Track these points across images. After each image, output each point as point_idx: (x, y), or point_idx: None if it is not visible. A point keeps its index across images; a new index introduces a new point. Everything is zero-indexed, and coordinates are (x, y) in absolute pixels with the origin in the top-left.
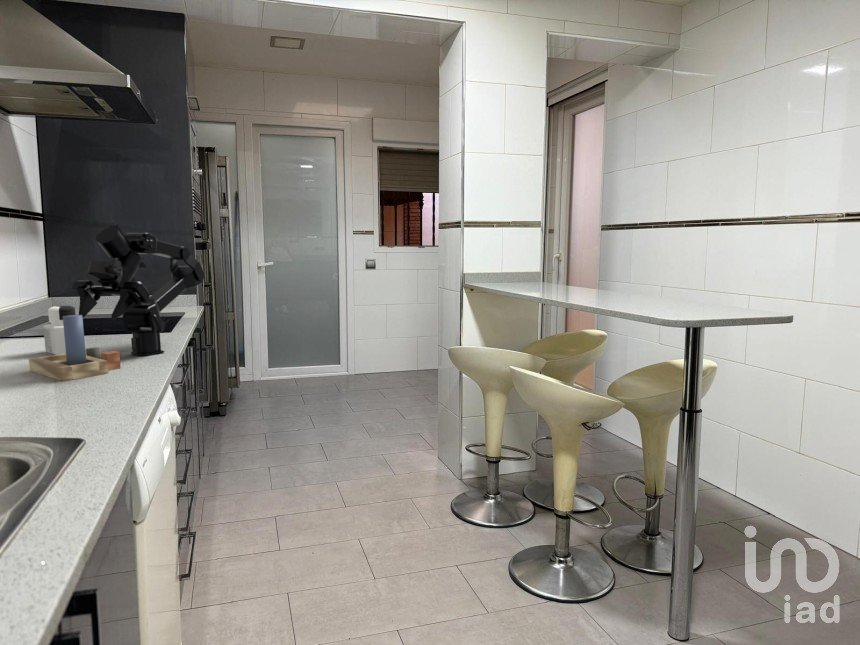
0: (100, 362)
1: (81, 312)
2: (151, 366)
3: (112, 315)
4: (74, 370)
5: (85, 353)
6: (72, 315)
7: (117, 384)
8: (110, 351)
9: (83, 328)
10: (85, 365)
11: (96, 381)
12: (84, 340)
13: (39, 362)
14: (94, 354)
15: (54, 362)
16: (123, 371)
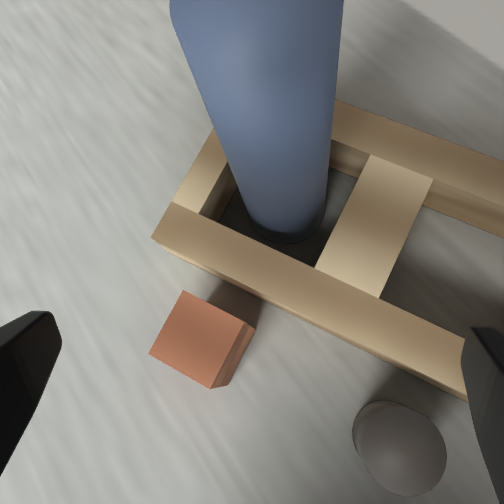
0: (168, 208)
1: (488, 359)
2: (50, 415)
3: (27, 314)
4: None
5: (239, 189)
6: (290, 24)
7: (31, 104)
8: (215, 369)
9: (217, 123)
10: (203, 151)
11: (130, 125)
12: (227, 159)
13: (482, 155)
14: (366, 419)
15: (388, 156)
16: (124, 294)
